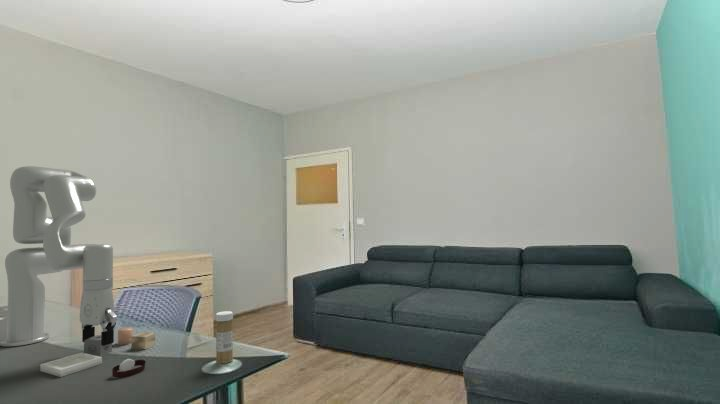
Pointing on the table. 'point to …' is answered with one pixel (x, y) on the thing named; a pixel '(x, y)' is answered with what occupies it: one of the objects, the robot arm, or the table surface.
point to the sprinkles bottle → (224, 337)
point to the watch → (128, 368)
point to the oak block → (143, 340)
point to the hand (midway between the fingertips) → (97, 342)
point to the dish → (70, 364)
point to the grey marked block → (96, 346)
